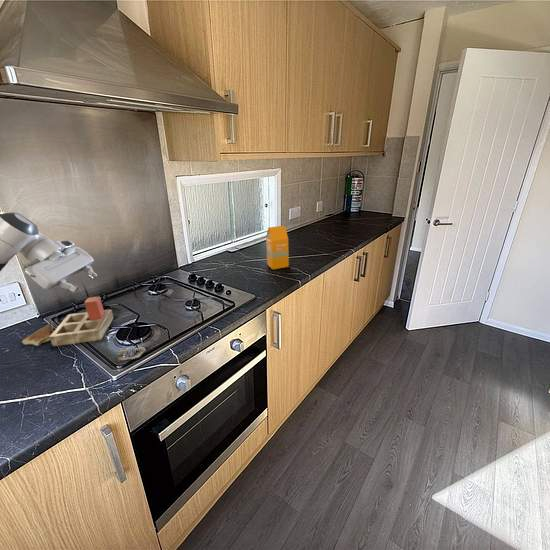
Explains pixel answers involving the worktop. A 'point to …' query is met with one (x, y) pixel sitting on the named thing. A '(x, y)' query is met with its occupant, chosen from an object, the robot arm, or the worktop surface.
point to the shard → (39, 335)
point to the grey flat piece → (130, 353)
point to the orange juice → (277, 247)
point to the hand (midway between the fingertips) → (86, 283)
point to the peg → (94, 308)
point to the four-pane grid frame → (81, 328)
